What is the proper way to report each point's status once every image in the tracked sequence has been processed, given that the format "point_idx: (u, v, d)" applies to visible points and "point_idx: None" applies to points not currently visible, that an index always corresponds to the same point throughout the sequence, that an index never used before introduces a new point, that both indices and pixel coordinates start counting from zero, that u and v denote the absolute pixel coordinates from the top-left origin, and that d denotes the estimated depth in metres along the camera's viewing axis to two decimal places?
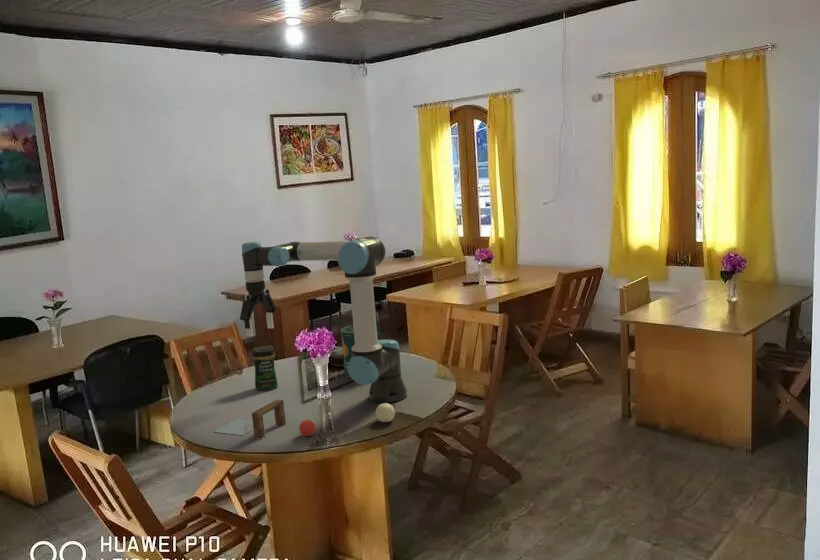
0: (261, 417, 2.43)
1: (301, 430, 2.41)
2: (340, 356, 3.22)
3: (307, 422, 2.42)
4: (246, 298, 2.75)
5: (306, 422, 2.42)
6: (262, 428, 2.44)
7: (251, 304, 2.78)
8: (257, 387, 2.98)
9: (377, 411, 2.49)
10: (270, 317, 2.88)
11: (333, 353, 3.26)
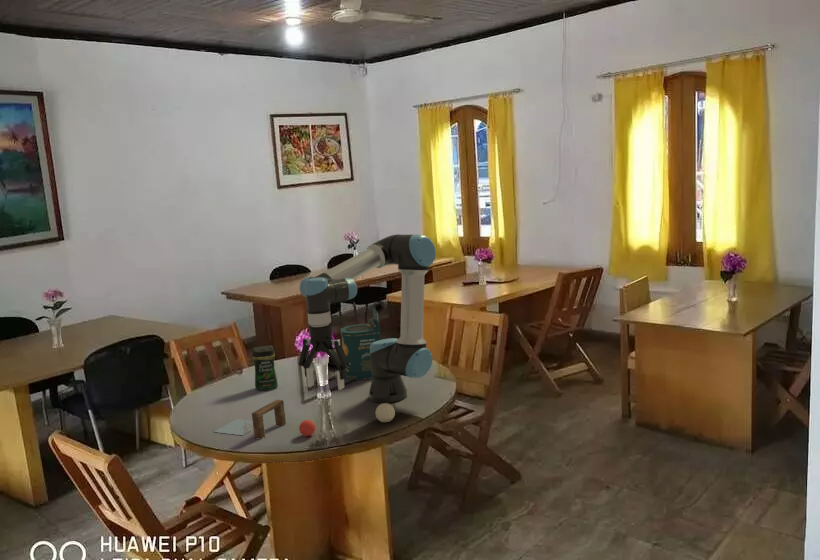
0: (261, 417, 2.43)
1: (301, 430, 2.41)
2: None
3: (307, 422, 2.42)
4: None
5: (306, 422, 2.42)
6: (262, 428, 2.44)
7: None
8: (257, 387, 2.98)
9: (377, 411, 2.49)
10: None
11: None
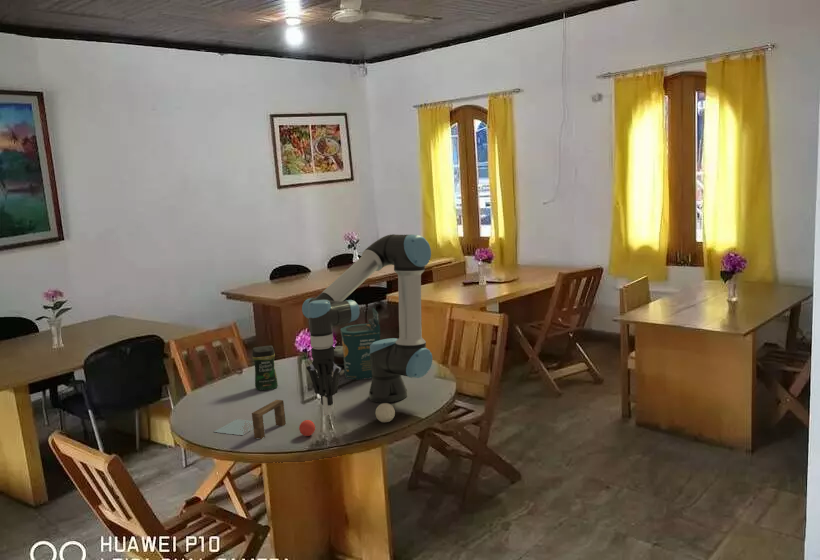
0: (261, 417, 2.43)
1: (301, 430, 2.41)
2: (342, 355, 3.23)
3: (307, 422, 2.42)
4: None
5: (306, 422, 2.42)
6: (262, 428, 2.44)
7: None
8: (257, 387, 2.98)
9: (377, 411, 2.49)
10: None
11: (335, 352, 3.27)
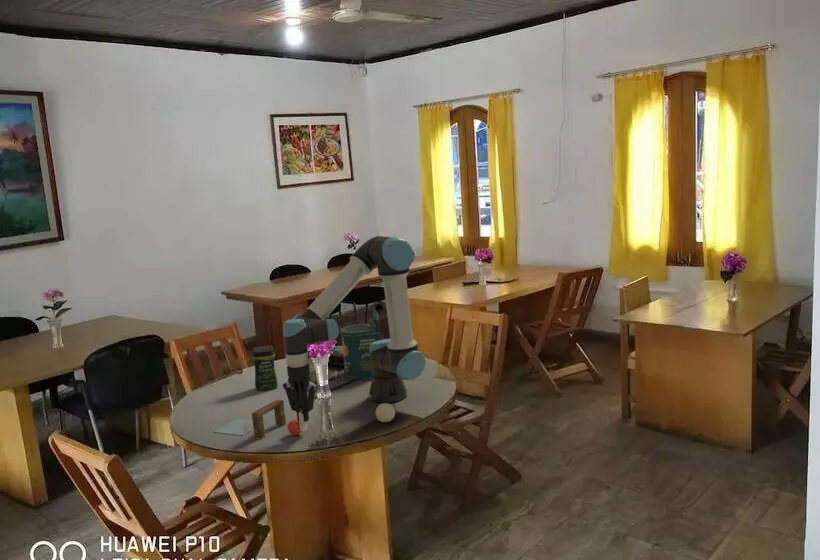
0: (261, 417, 2.43)
1: (291, 431, 2.43)
2: None
3: None
4: None
5: (288, 424, 2.45)
6: (262, 428, 2.44)
7: None
8: (257, 387, 2.98)
9: (377, 411, 2.49)
10: None
11: (336, 352, 3.27)
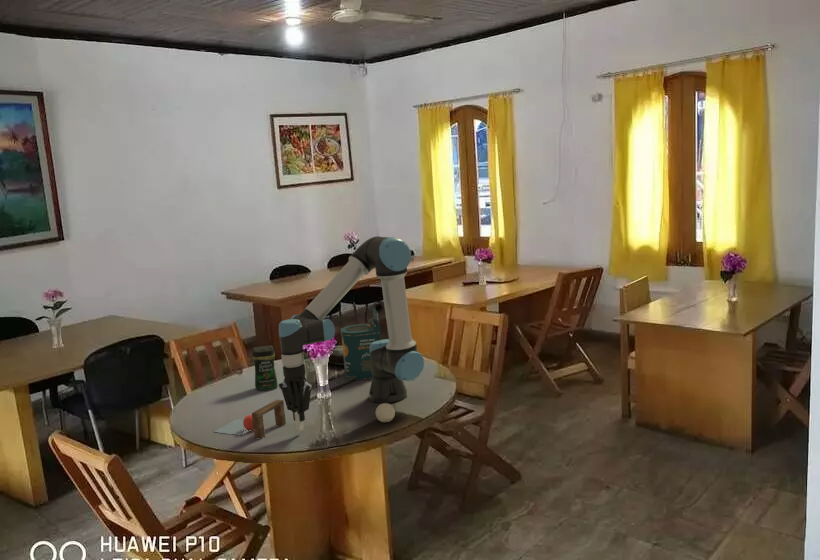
0: (261, 417, 2.43)
1: (247, 426, 2.50)
2: None
3: None
4: None
5: None
6: (262, 428, 2.44)
7: None
8: (257, 387, 2.98)
9: (377, 411, 2.49)
10: None
11: (337, 352, 3.28)
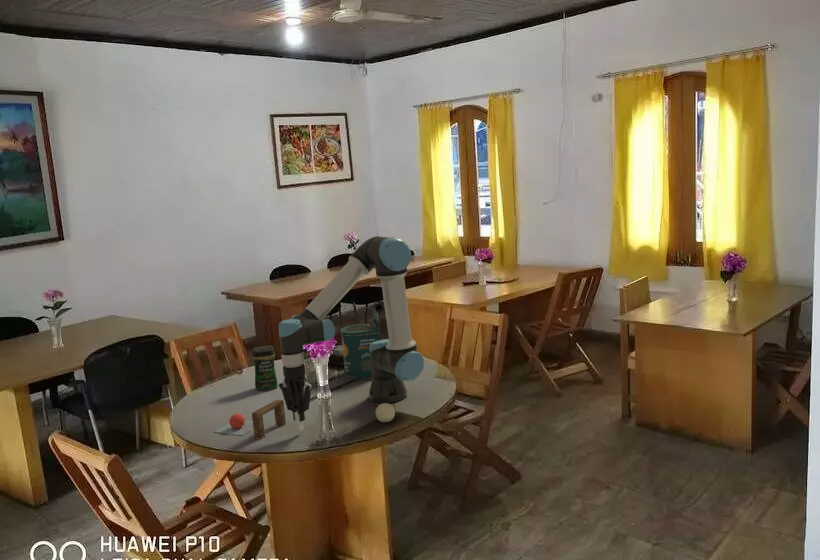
0: (261, 417, 2.43)
1: (233, 422, 2.53)
2: None
3: (240, 427, 2.54)
4: None
5: (240, 426, 2.54)
6: (262, 428, 2.44)
7: None
8: (257, 387, 2.98)
9: (377, 411, 2.49)
10: None
11: (337, 352, 3.28)
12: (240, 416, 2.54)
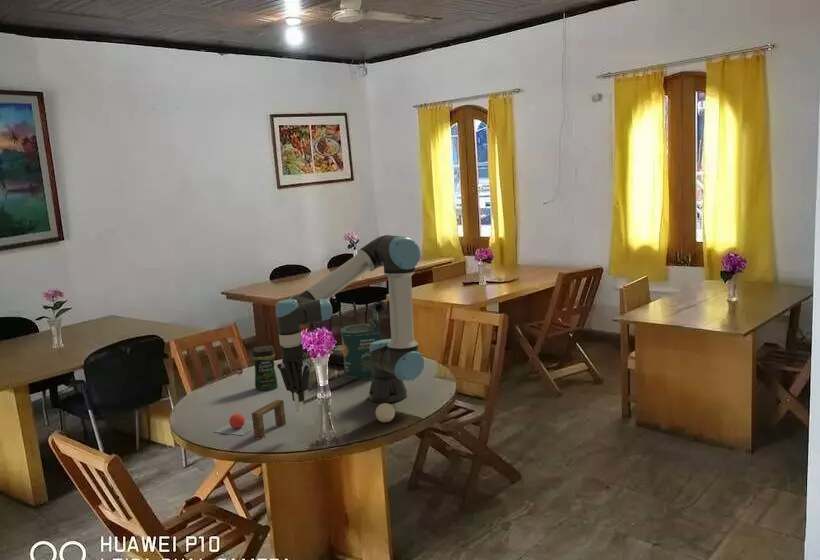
0: (261, 417, 2.43)
1: (233, 422, 2.53)
2: None
3: (240, 427, 2.54)
4: None
5: (240, 426, 2.54)
6: (262, 428, 2.44)
7: None
8: (257, 387, 2.98)
9: (377, 411, 2.49)
10: None
11: (338, 351, 3.28)
12: (240, 416, 2.54)
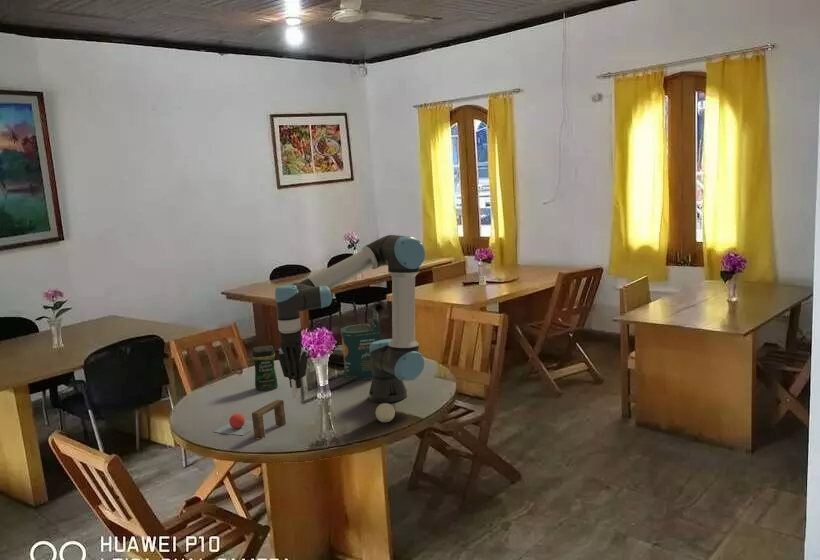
0: (261, 417, 2.43)
1: (233, 422, 2.53)
2: None
3: (240, 427, 2.54)
4: None
5: (240, 426, 2.54)
6: (262, 428, 2.44)
7: None
8: (257, 387, 2.98)
9: (377, 411, 2.49)
10: None
11: (339, 351, 3.29)
12: (240, 416, 2.54)
